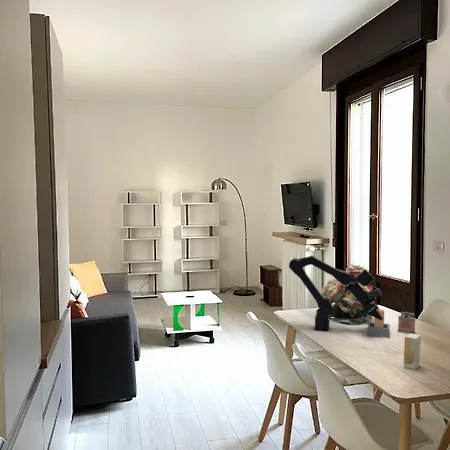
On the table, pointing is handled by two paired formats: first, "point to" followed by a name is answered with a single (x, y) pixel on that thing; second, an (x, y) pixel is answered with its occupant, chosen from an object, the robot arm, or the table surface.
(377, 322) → the terracotta block
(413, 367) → the skincare box
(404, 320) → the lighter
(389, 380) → the table surface
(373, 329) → the well
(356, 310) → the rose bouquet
